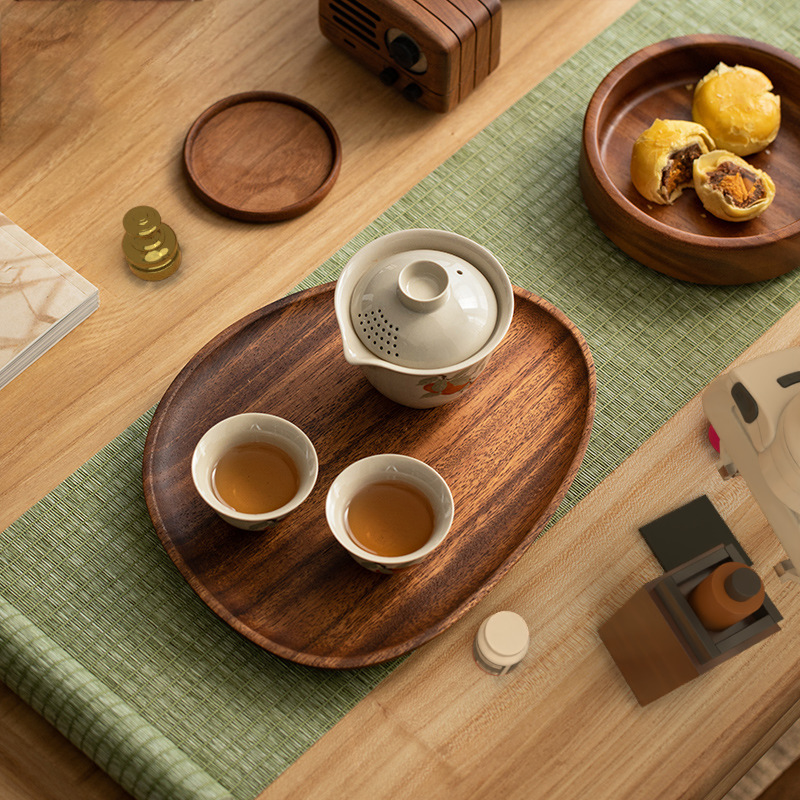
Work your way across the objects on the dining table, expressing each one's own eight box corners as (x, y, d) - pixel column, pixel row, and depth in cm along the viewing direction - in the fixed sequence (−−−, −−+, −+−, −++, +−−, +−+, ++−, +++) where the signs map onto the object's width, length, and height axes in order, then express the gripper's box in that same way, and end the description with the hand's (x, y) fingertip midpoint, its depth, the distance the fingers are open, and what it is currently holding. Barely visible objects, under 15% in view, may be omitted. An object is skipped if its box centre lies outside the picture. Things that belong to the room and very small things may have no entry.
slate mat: (704, 495, 116) (705, 494, 115) (752, 565, 112) (753, 563, 111) (637, 529, 113) (639, 527, 113) (684, 601, 109) (686, 600, 109)
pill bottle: (512, 621, 108) (525, 600, 99) (527, 670, 105) (541, 652, 96) (465, 633, 107) (474, 612, 98) (478, 682, 104) (489, 665, 95)
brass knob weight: (160, 229, 131) (145, 183, 122) (193, 261, 128) (180, 216, 120) (117, 259, 128) (99, 213, 119) (150, 291, 126) (134, 248, 117)
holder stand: (664, 594, 110) (733, 533, 89) (711, 668, 106) (795, 622, 85) (596, 630, 107) (651, 576, 87) (642, 707, 104) (710, 669, 83)
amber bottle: (717, 574, 90) (752, 546, 82) (746, 618, 88) (785, 593, 80) (677, 595, 89) (708, 569, 81) (706, 640, 87) (740, 618, 79)
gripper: (955, 576, 61) (856, 624, 73) (791, 326, 69) (727, 407, 82) (876, 610, 60) (788, 652, 72) (718, 351, 68) (664, 429, 80)
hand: (755, 520), depth 77 cm, fingers open, 8 cm apart
